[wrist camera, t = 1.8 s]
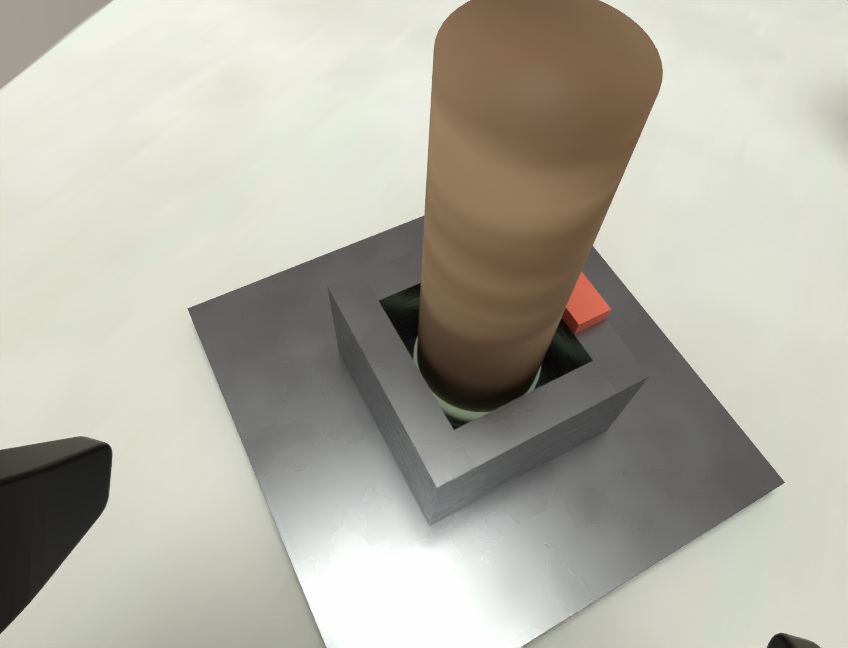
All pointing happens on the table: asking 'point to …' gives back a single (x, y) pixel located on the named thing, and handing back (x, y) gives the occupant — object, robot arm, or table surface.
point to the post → (519, 183)
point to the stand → (465, 453)
